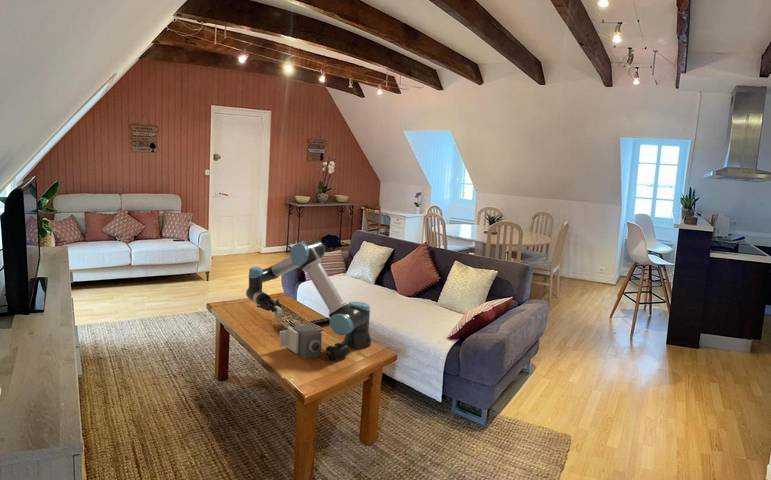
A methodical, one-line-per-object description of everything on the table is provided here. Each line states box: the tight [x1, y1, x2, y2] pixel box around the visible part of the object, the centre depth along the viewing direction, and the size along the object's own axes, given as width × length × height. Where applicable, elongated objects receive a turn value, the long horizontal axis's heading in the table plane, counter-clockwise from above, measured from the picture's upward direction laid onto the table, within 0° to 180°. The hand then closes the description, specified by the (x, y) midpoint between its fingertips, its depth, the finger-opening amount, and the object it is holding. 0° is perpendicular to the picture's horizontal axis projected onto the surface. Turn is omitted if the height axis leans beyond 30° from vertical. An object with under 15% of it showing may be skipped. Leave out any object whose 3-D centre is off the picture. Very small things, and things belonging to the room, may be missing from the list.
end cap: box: [325, 342, 350, 362], centre depth 248 cm, size 10×7×7 cm
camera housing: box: [292, 324, 323, 360], centre depth 251 cm, size 9×16×12 cm, turn 38°
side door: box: [278, 326, 299, 354], centre depth 252 cm, size 6×10×11 cm, turn 38°
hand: (280, 311), depth 255 cm, fingers closed
